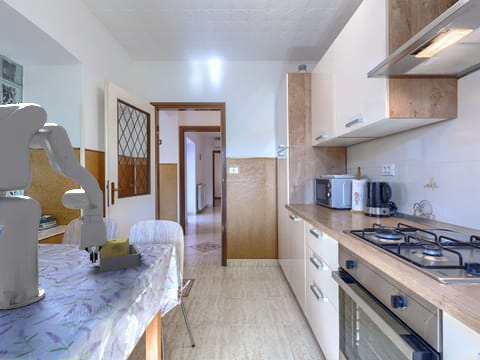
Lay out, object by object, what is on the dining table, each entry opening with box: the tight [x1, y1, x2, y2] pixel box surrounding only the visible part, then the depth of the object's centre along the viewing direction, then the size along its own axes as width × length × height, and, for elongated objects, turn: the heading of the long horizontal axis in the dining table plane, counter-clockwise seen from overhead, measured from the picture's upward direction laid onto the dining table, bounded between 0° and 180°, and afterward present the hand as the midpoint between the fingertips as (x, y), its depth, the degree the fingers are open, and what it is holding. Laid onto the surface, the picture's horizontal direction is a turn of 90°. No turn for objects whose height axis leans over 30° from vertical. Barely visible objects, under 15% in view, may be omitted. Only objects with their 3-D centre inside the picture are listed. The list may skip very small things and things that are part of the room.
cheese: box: [99, 237, 130, 260], centre depth 118 cm, size 10×11×10 cm
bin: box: [98, 243, 142, 273], centre depth 119 cm, size 20×15×5 cm
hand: (93, 262), depth 115 cm, fingers closed
